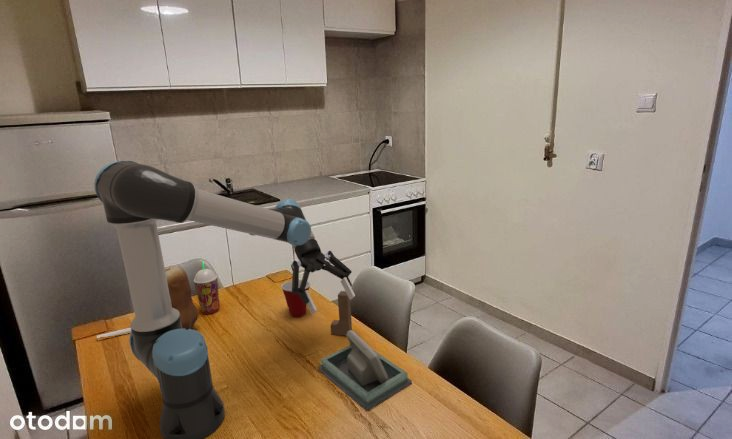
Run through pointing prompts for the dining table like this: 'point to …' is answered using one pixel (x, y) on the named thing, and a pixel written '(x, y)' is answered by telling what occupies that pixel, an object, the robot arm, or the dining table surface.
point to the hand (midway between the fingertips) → (334, 304)
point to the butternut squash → (181, 295)
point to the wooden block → (342, 316)
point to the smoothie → (207, 290)
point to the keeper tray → (363, 395)
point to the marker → (115, 333)
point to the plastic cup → (294, 299)
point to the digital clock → (364, 361)
